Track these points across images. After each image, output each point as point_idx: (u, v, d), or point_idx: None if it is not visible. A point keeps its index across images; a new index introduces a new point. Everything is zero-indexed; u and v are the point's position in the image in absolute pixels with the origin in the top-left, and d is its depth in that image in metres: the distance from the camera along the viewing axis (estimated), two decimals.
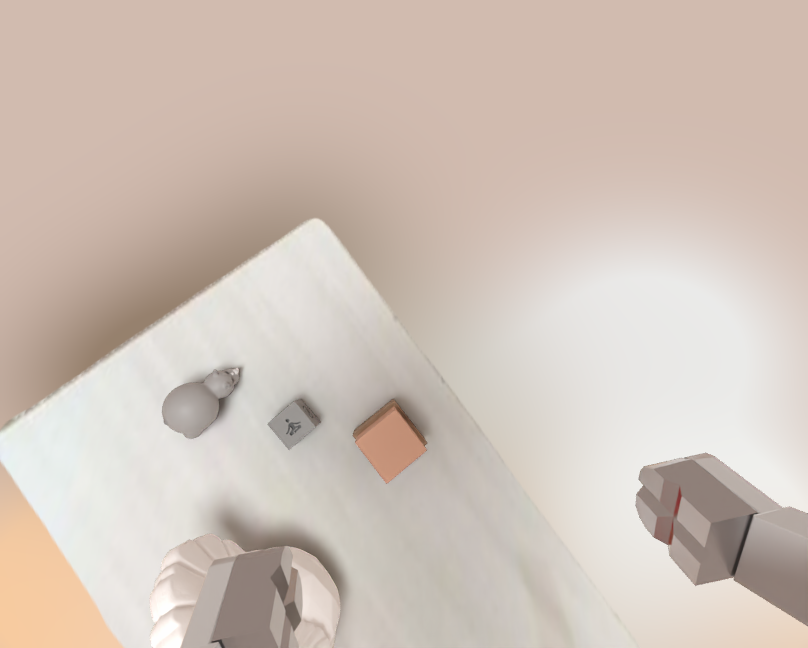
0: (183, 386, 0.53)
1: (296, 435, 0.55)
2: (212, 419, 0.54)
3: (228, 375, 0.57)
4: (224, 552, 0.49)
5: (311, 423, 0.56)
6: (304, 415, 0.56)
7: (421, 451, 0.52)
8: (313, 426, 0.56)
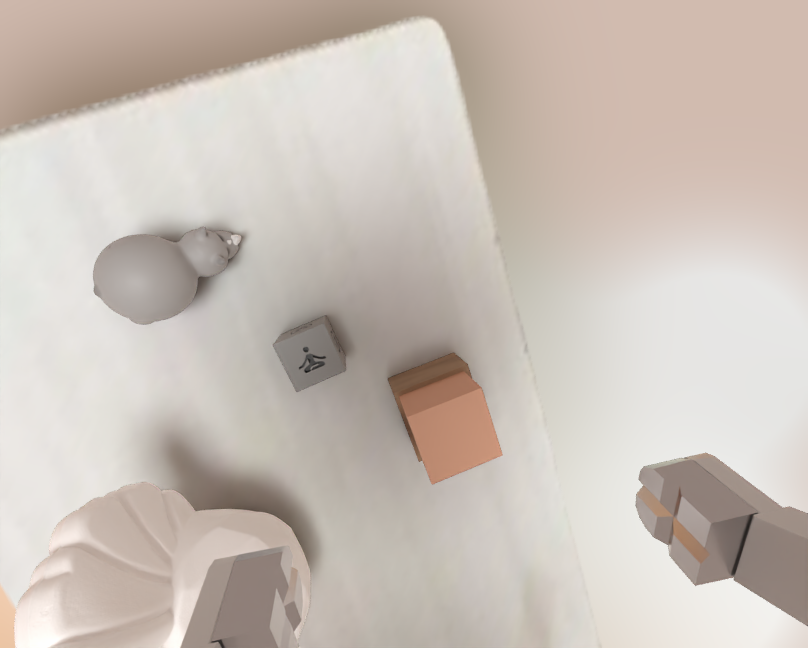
0: (141, 239, 0.29)
1: (313, 374, 0.35)
2: (182, 308, 0.32)
3: (223, 243, 0.34)
4: (164, 518, 0.31)
5: (340, 364, 0.36)
6: (333, 349, 0.35)
7: (494, 454, 0.34)
8: (342, 369, 0.36)
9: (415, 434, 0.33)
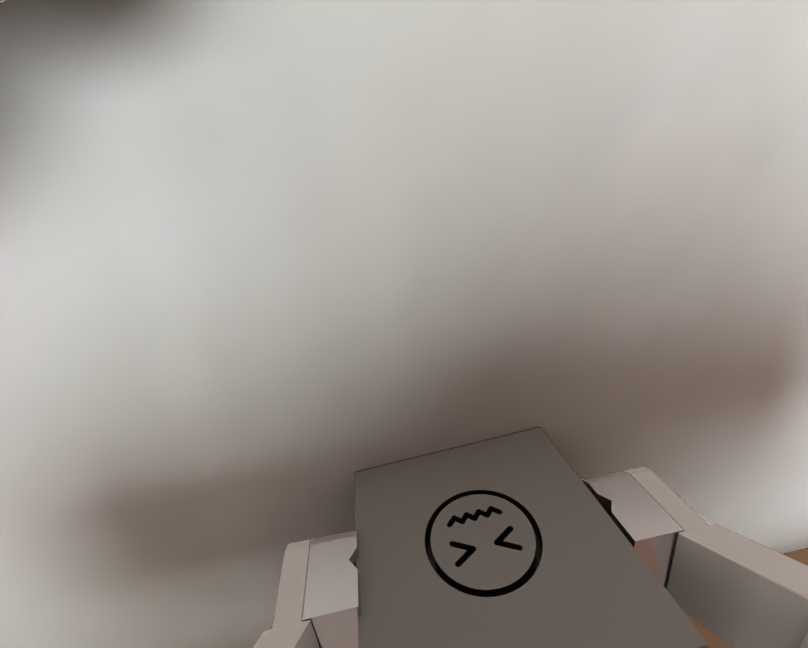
0: None
1: None
2: None
3: None
4: None
5: None
6: None
7: None
8: None
9: None
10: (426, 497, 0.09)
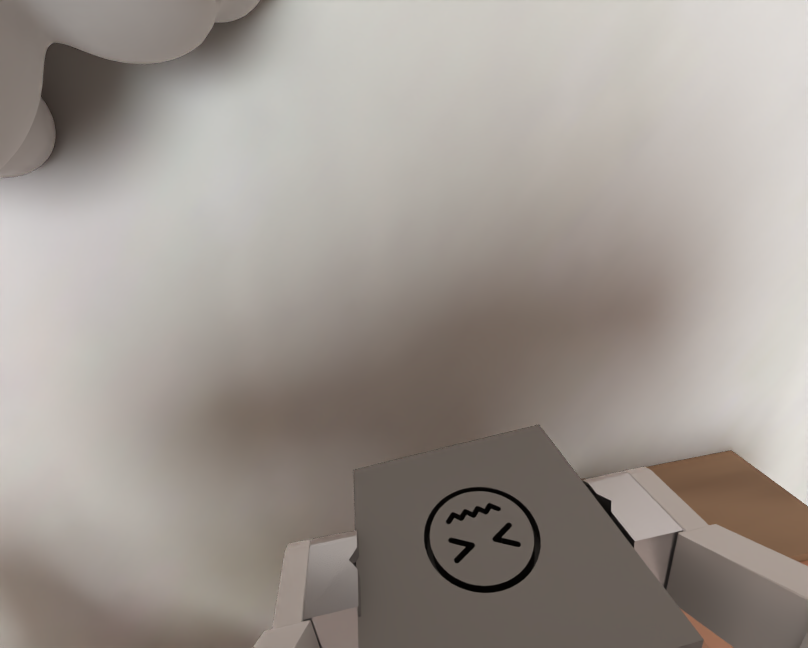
0: None
1: None
2: None
3: None
4: None
5: None
6: None
7: None
8: None
9: None
10: (425, 494, 0.09)
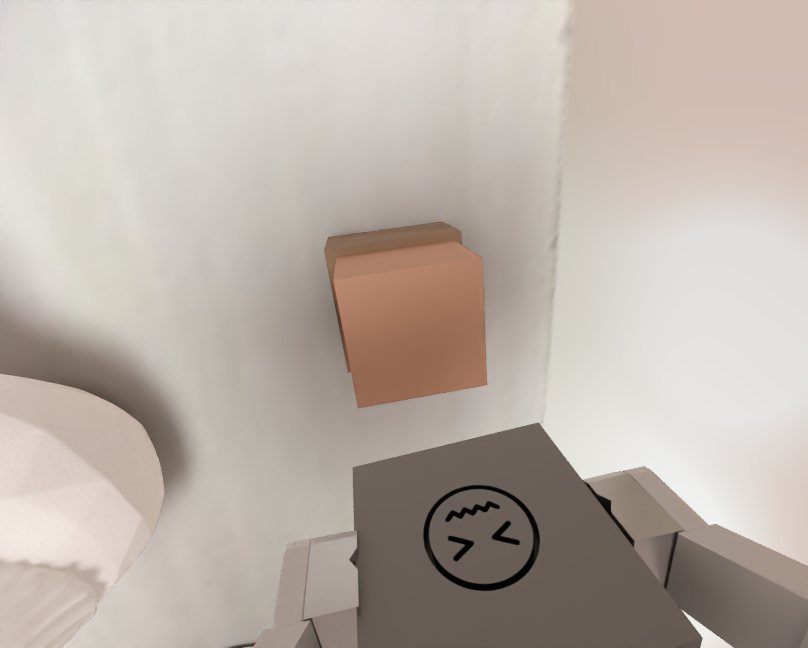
0: None
1: None
2: None
3: None
4: None
5: None
6: None
7: (474, 381, 0.20)
8: None
9: (343, 316, 0.18)
10: (424, 492, 0.09)
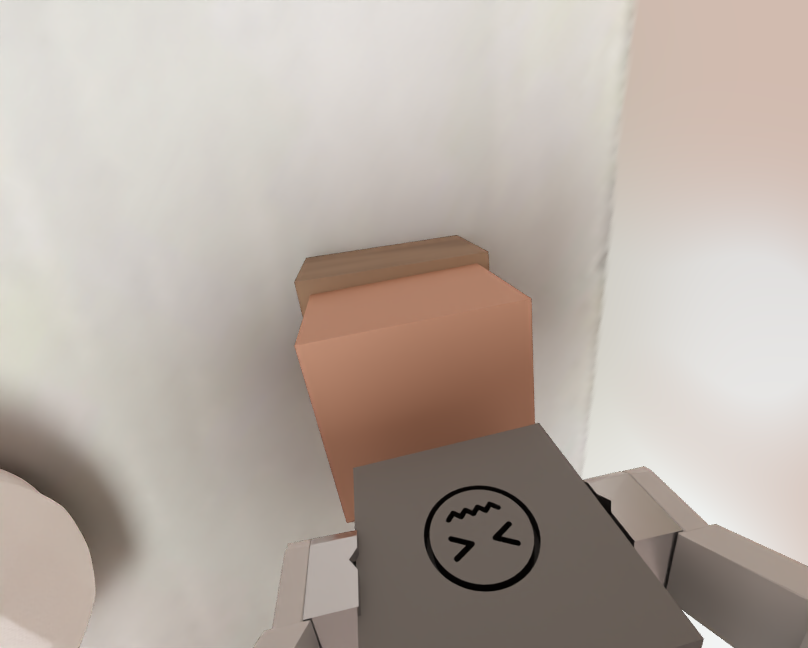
0: None
1: None
2: None
3: None
4: None
5: None
6: None
7: None
8: None
9: (315, 398, 0.11)
10: (425, 492, 0.09)
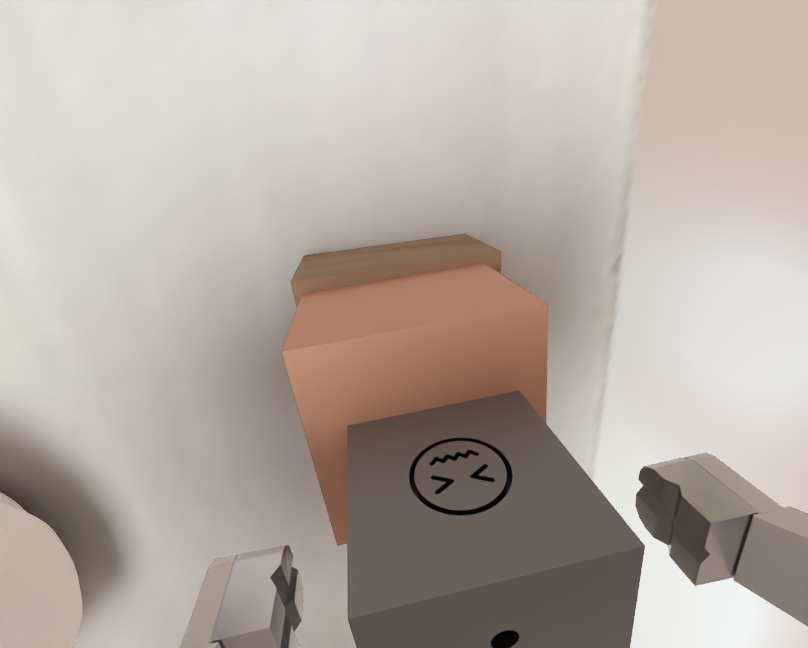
0: None
1: None
2: None
3: None
4: None
5: None
6: (621, 643, 0.07)
7: None
8: None
9: (304, 410, 0.10)
10: (412, 443, 0.09)
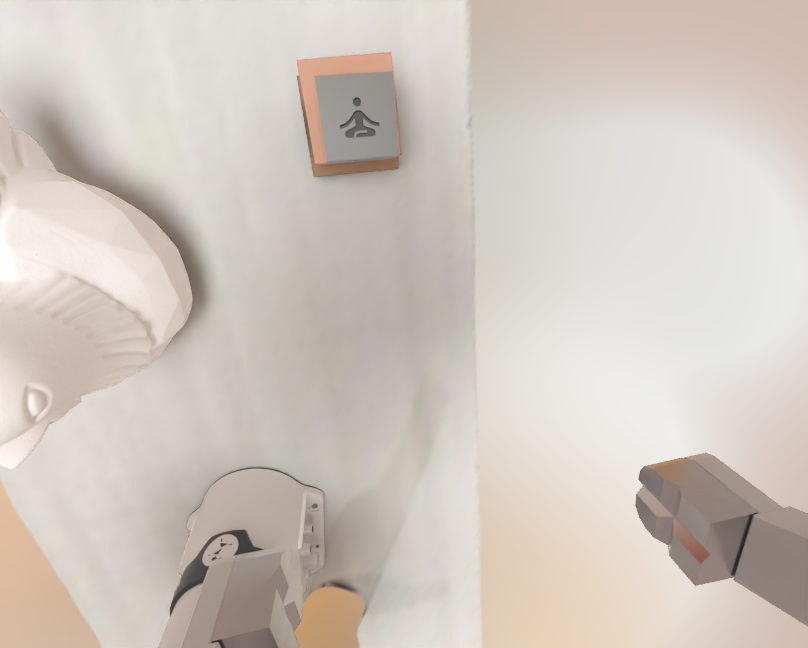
0: None
1: (355, 144, 0.26)
2: None
3: None
4: (6, 140, 0.27)
5: (395, 143, 0.26)
6: (393, 117, 0.25)
7: None
8: (395, 152, 0.26)
9: (303, 88, 0.28)
10: None
